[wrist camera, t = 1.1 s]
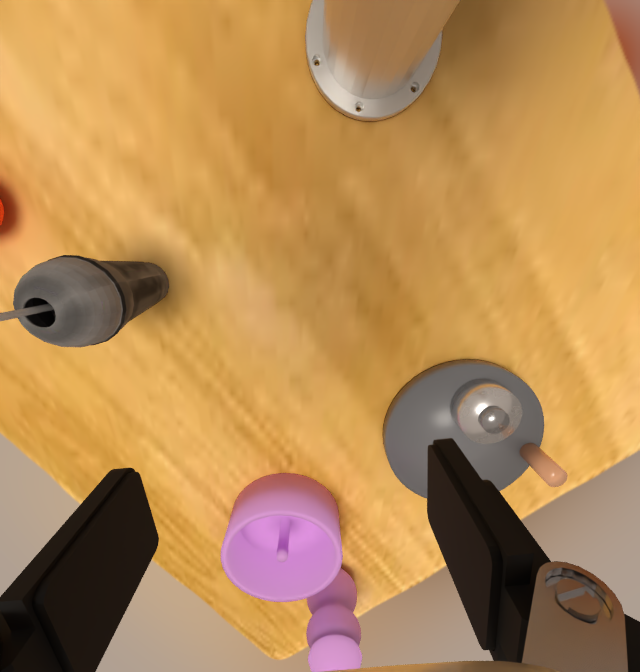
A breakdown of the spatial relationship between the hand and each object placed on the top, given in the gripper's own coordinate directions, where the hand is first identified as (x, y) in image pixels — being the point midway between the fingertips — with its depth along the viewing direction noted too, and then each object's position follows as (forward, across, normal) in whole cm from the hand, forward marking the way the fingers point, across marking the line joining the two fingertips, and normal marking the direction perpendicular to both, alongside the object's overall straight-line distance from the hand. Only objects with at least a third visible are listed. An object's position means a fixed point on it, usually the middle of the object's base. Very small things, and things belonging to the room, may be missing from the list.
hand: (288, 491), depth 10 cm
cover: (+27, -20, +14) cm, 36 cm away
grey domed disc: (+29, -18, +18) cm, 39 cm away
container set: (+29, +4, +35) cm, 46 cm away
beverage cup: (+29, +17, -5) cm, 34 cm away
